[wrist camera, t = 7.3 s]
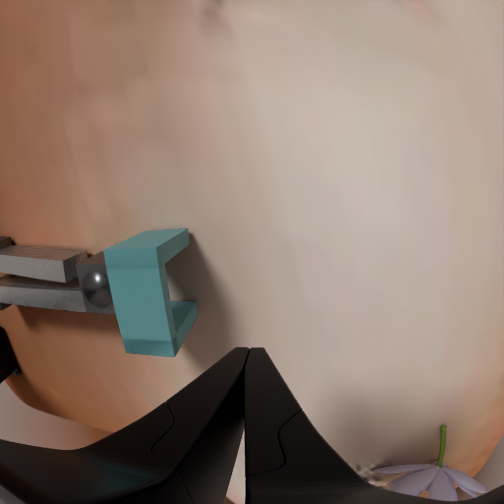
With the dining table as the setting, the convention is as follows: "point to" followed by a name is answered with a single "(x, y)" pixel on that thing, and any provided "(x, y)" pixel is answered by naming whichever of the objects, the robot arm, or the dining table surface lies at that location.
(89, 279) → the tong frame
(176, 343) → the teal notched block
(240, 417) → the robot arm
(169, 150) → the dining table surface
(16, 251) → the tong arm
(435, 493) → the purple flower
